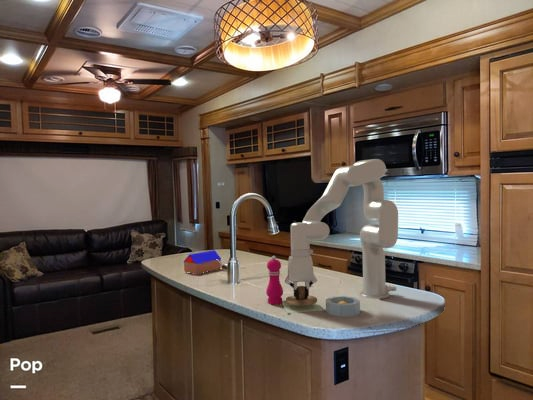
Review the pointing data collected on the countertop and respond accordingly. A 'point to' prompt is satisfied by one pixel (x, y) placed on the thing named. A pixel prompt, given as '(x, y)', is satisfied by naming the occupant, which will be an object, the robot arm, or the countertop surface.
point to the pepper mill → (274, 282)
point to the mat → (300, 308)
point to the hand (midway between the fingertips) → (301, 297)
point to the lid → (301, 298)
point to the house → (202, 262)
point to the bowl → (342, 306)
